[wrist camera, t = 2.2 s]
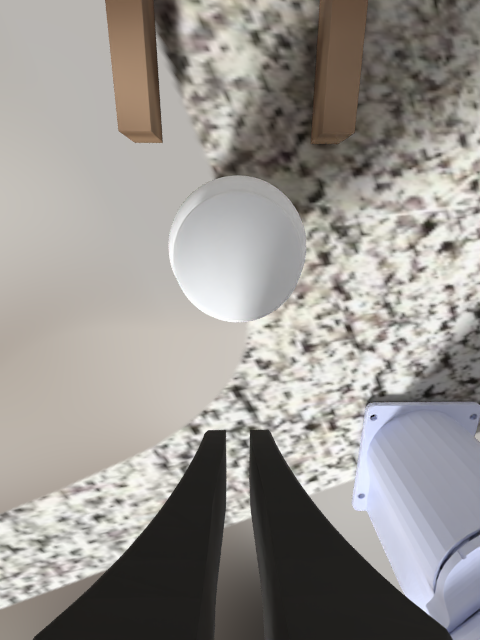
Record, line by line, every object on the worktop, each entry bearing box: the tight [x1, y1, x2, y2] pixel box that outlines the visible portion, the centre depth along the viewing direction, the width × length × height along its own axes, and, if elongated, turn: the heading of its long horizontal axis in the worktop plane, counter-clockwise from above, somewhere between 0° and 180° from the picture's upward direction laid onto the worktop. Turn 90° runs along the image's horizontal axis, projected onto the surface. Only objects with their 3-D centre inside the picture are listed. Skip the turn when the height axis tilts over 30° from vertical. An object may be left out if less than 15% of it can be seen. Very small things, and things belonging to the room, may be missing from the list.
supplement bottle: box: [169, 175, 306, 322], centre depth 14 cm, size 5×5×10 cm
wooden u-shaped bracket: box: [105, 0, 368, 144], centre depth 15 cm, size 10×11×2 cm
